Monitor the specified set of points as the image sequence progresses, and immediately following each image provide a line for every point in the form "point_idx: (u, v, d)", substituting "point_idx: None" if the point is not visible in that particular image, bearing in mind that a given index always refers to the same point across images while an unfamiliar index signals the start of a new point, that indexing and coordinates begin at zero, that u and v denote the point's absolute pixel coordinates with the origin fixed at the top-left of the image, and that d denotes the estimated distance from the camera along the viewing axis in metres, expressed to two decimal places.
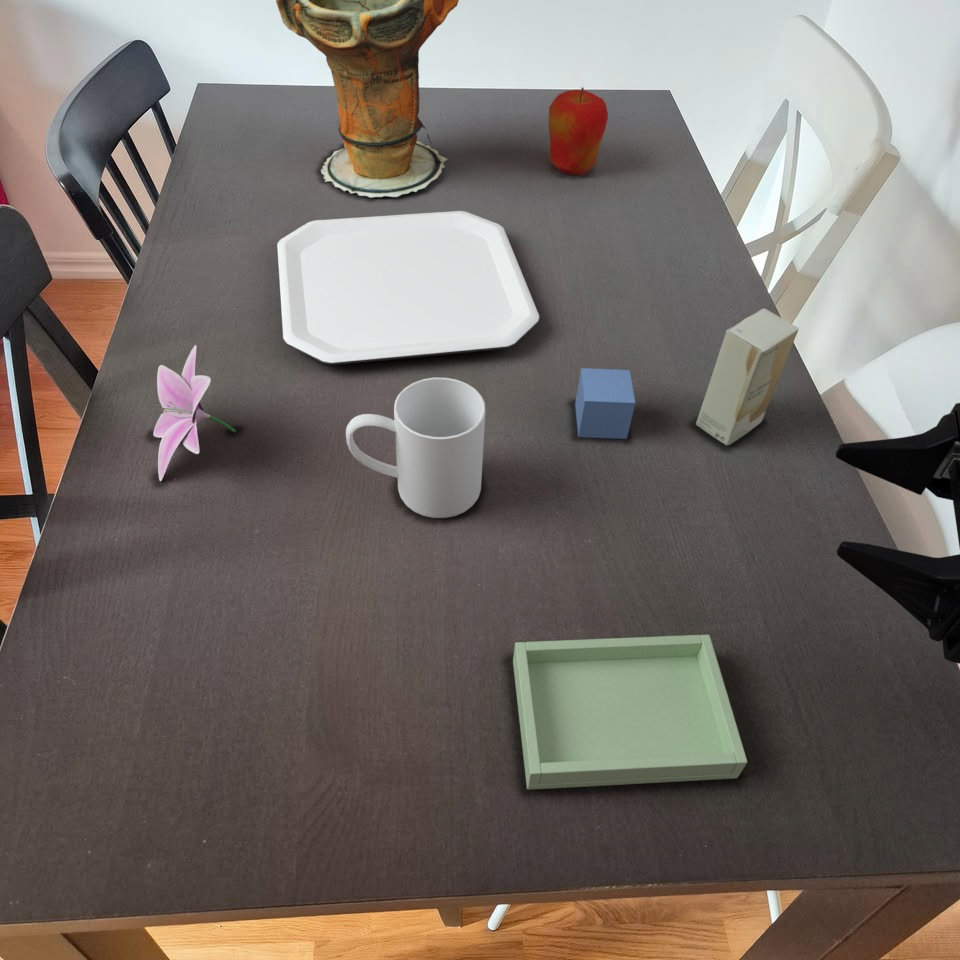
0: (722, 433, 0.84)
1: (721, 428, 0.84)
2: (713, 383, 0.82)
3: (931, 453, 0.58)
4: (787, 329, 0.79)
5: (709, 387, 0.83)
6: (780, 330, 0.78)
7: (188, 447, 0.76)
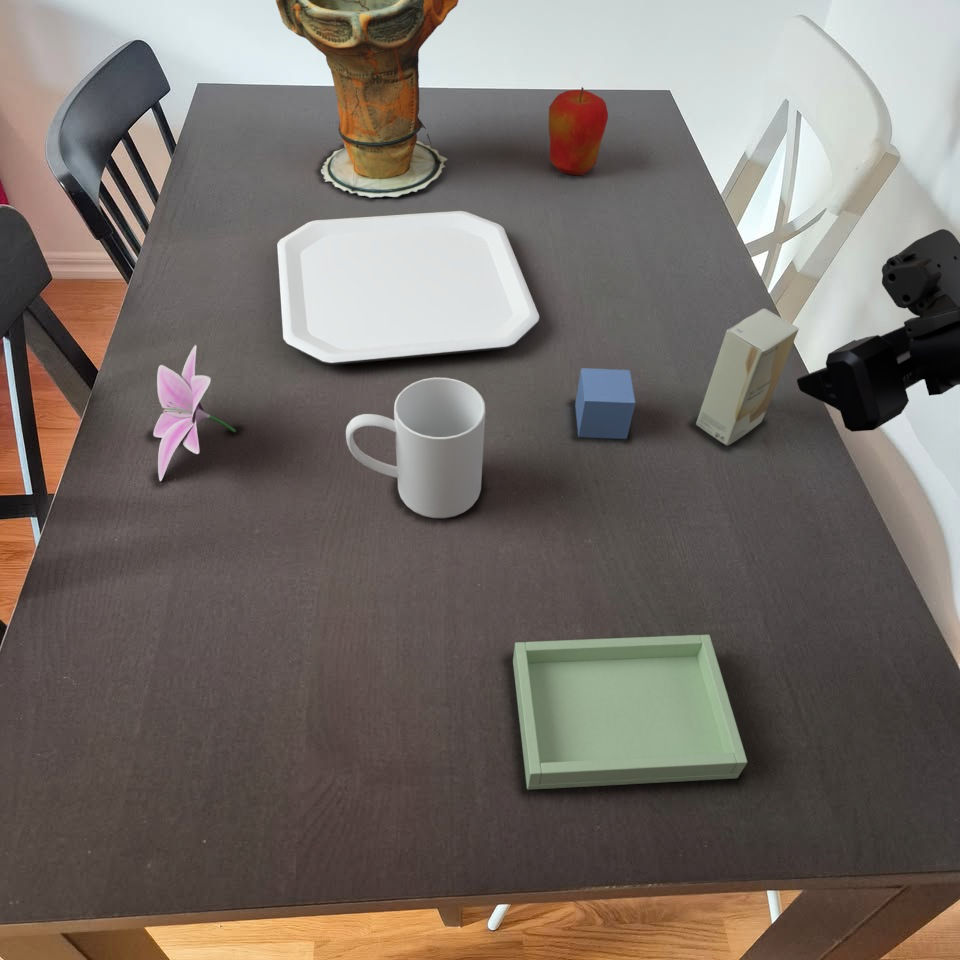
0: (722, 433, 0.84)
1: (721, 428, 0.84)
2: (713, 383, 0.82)
3: None
4: (787, 329, 0.79)
5: (709, 387, 0.83)
6: (780, 330, 0.78)
7: (188, 447, 0.76)
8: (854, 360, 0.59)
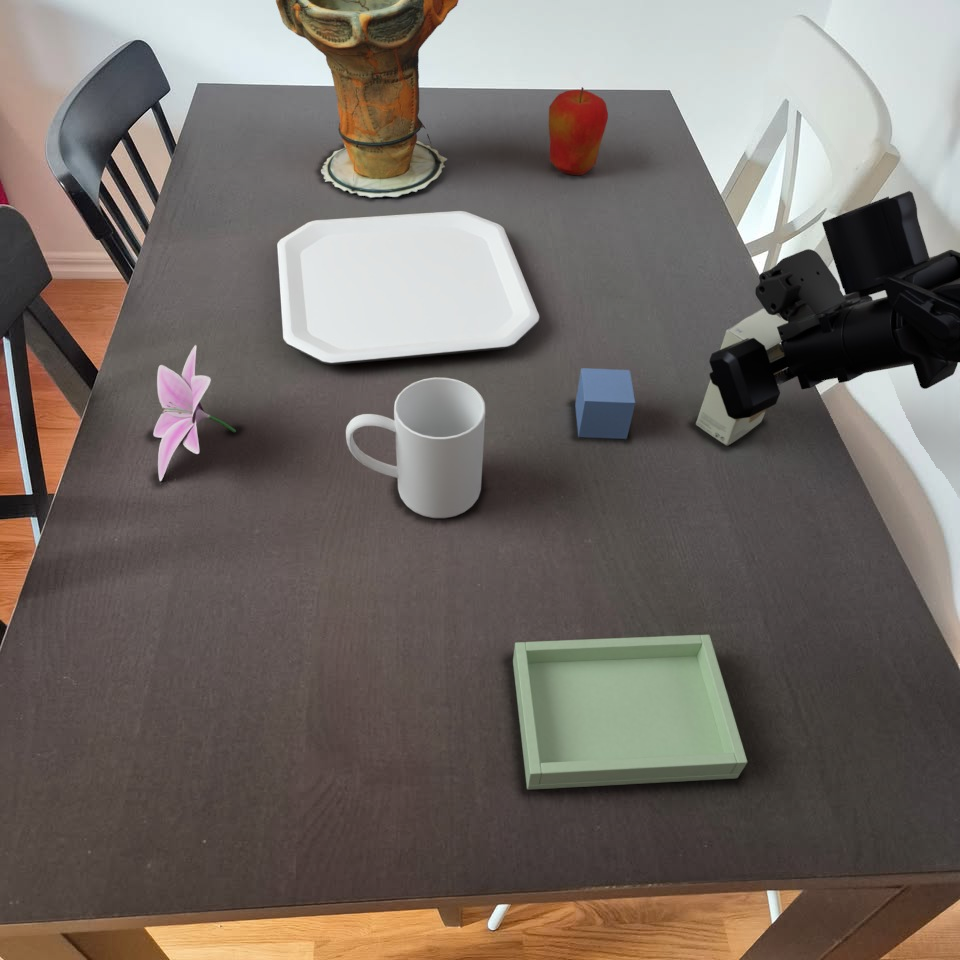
0: (722, 433, 0.84)
1: (721, 428, 0.84)
2: None
3: None
4: None
5: (709, 387, 0.83)
6: None
7: (188, 447, 0.76)
8: (730, 358, 0.71)
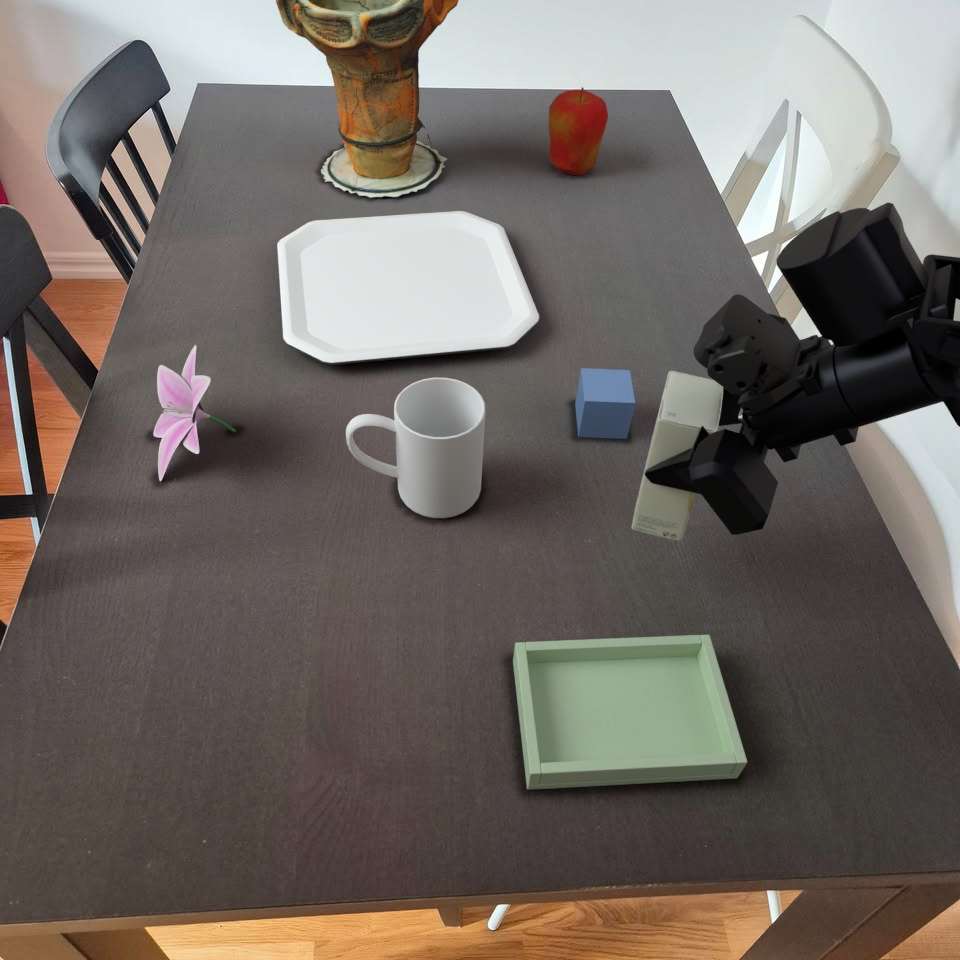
0: (672, 530, 0.67)
1: (670, 525, 0.66)
2: (649, 481, 0.64)
3: None
4: (715, 389, 0.62)
5: (644, 486, 0.64)
6: (709, 393, 0.62)
7: (188, 447, 0.76)
8: (723, 471, 0.52)
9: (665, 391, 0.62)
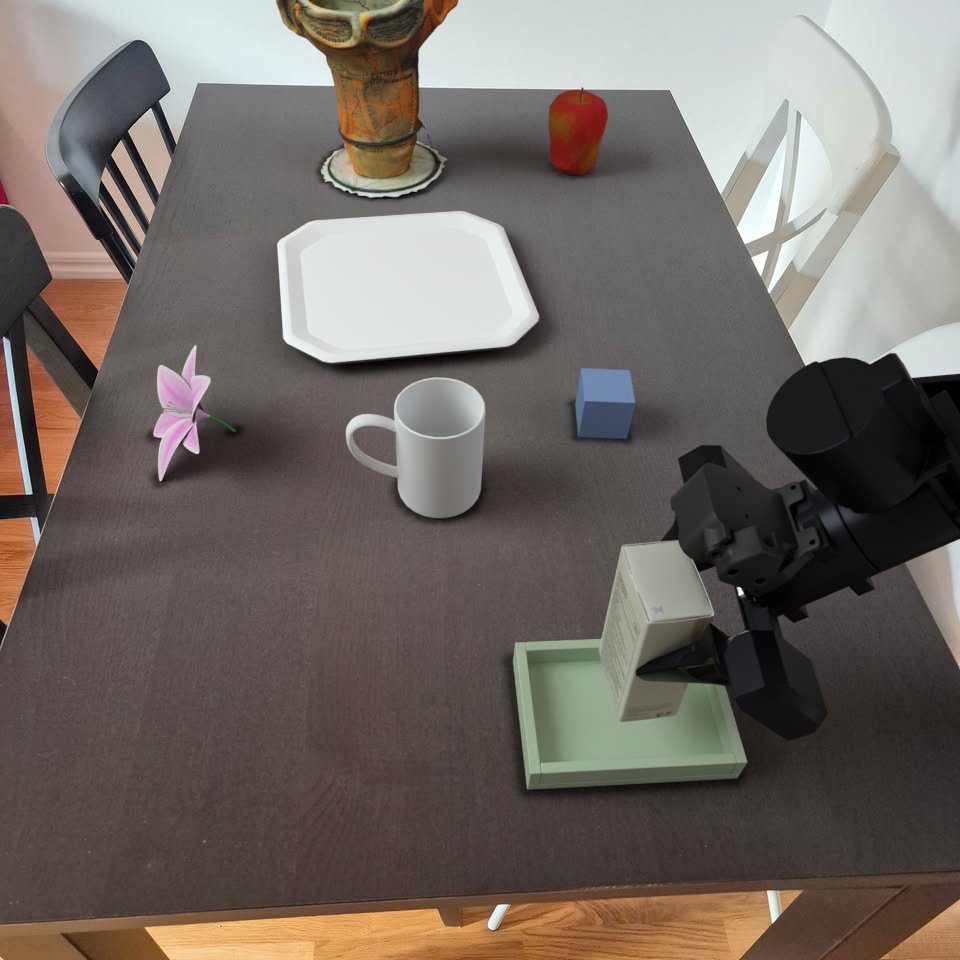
0: (667, 709, 0.57)
1: (664, 706, 0.57)
2: None
3: None
4: (681, 554, 0.53)
5: (634, 683, 0.54)
6: (679, 562, 0.52)
7: (188, 447, 0.76)
8: (780, 692, 0.43)
9: (633, 578, 0.51)
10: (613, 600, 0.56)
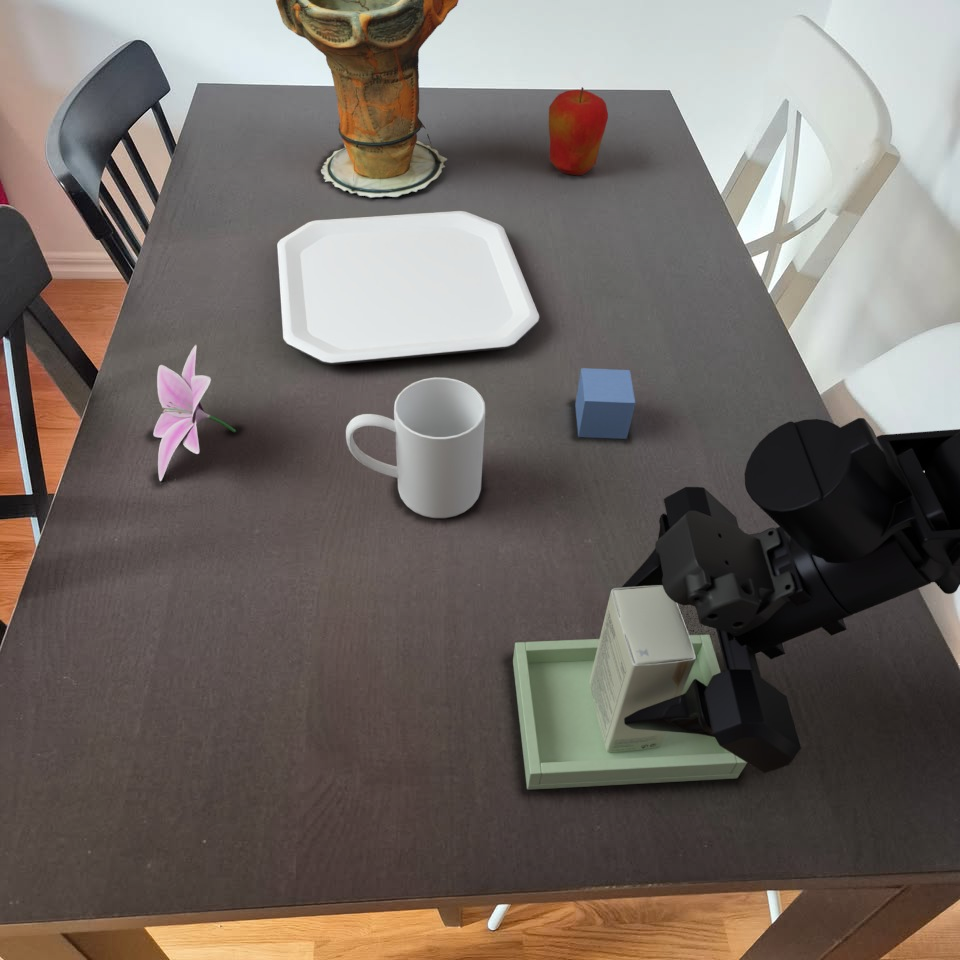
0: (651, 741, 0.61)
1: (649, 739, 0.60)
2: (626, 713, 0.57)
3: None
4: (667, 598, 0.56)
5: (620, 718, 0.57)
6: (664, 607, 0.56)
7: (188, 447, 0.76)
8: (756, 729, 0.46)
9: (621, 621, 0.55)
10: (603, 638, 0.59)
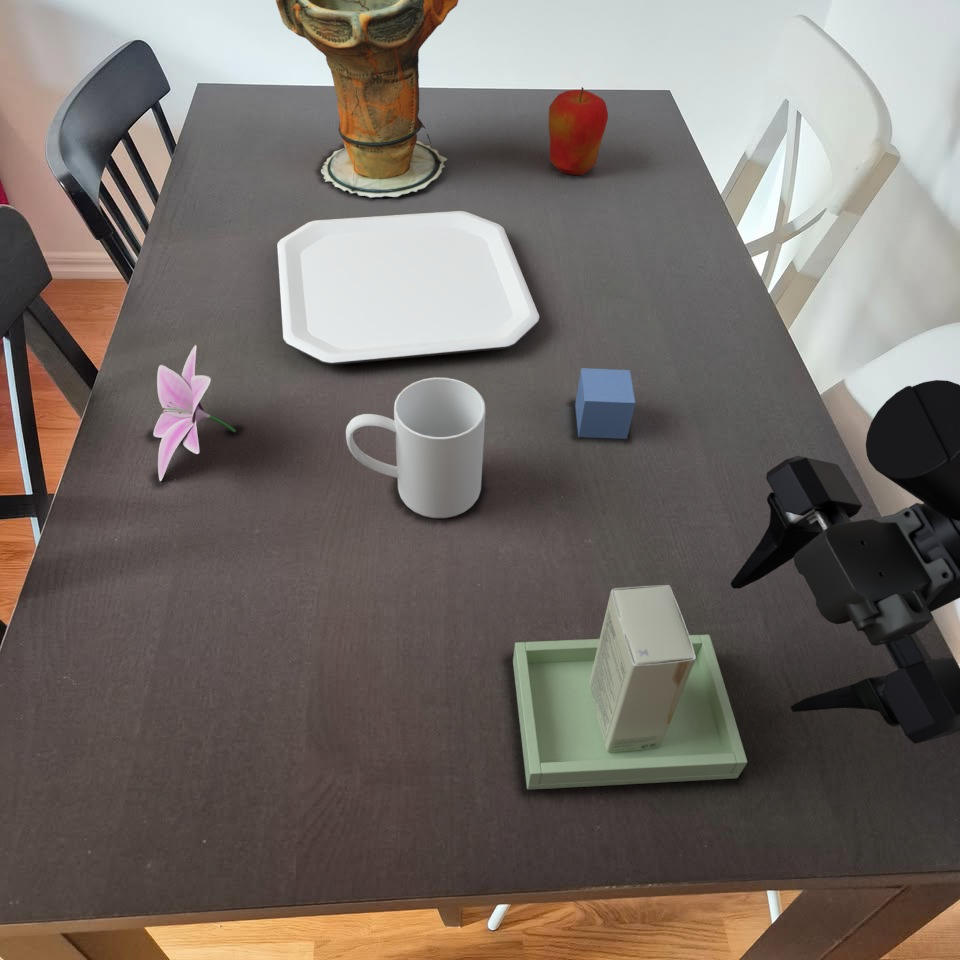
0: (651, 741, 0.61)
1: (649, 739, 0.60)
2: (626, 713, 0.57)
3: (789, 539, 0.56)
4: (667, 598, 0.56)
5: (620, 718, 0.57)
6: (664, 607, 0.56)
7: (188, 447, 0.76)
8: (949, 724, 0.46)
9: (621, 621, 0.55)
10: (603, 638, 0.59)
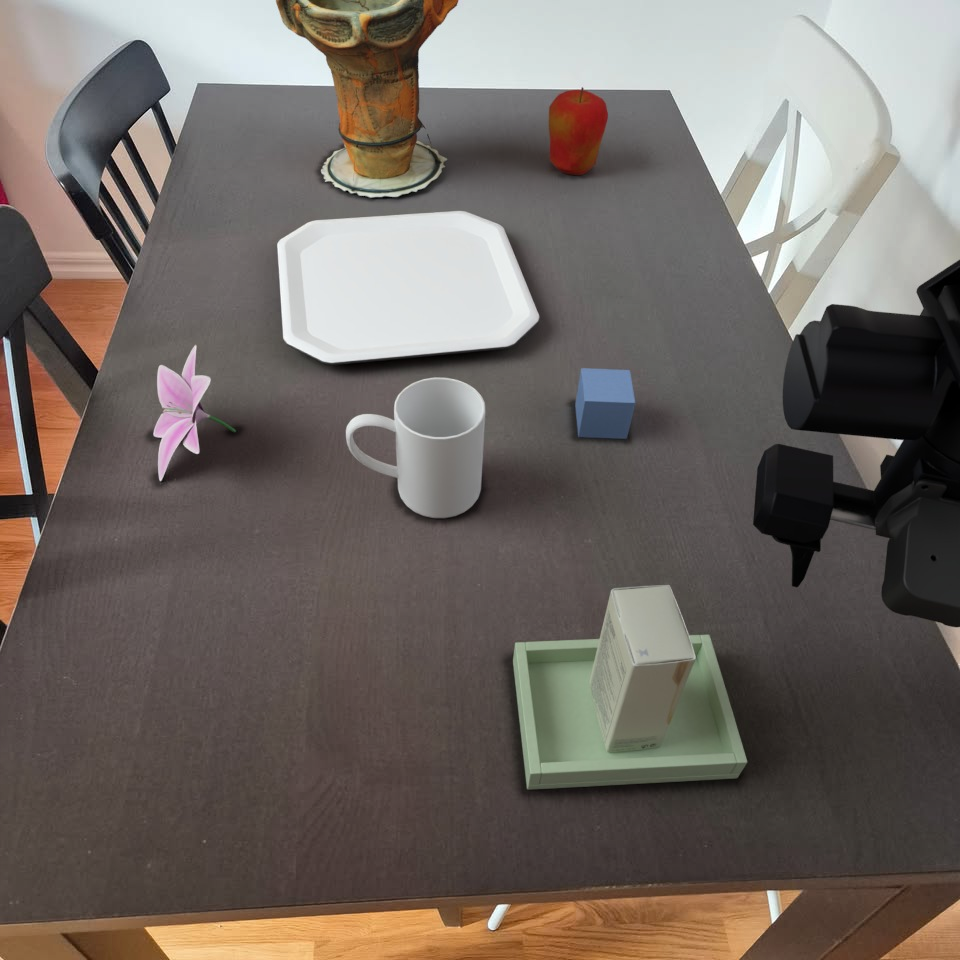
0: (651, 741, 0.61)
1: (649, 739, 0.60)
2: (626, 713, 0.57)
3: None
4: (667, 598, 0.56)
5: (620, 718, 0.57)
6: (664, 607, 0.56)
7: (188, 447, 0.76)
8: None
9: (621, 621, 0.55)
10: (603, 638, 0.59)
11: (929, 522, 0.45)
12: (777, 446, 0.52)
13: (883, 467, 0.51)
